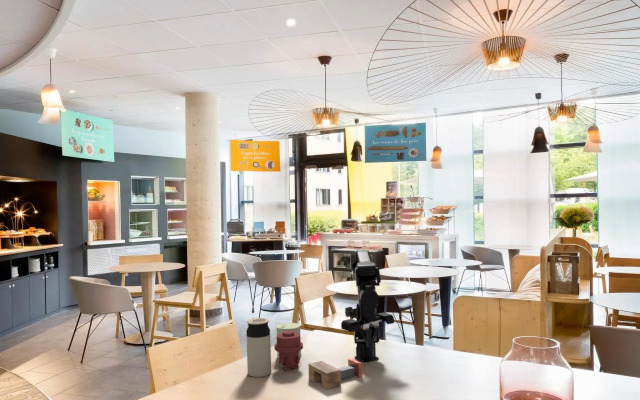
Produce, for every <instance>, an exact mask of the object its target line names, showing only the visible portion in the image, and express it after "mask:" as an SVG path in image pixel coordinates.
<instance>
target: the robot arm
mask: <svg viewBox="0 0 640 400" xmlns="http://www.w3.org/2000/svg"><path fill="white" fill-rule="evenodd" d="M349 259H350V261H349V262H350V263H349V264H350V265H349V266H350V267H349V268H350V271H351V270H352V276H353V278H354V279H355V286H356V289H357V300H358V303H356V307H355V308H353V307H352V306H349V307H348V306H347V307H345V309H344V314H345V317H346V318H348V319H343V320H342V321H341V323H340V324H341V325H340V329H342V330H344V331H347V332H350V333H353V340H354V344H356V347H355V356H354V359H355V360H357V361H359V362H360V361H361V362H363V363H367V362H372V361H375V360H379V358H380V357H379V356H377V355H376V354H377V353H376V352H377V351H376V349H377V348H376V344H378V343H379V342H380V331H381V330H380V329H382V326H380V324H379V323H382V322H385V324H387V325H392V324H395V317H394V315H393V314H390V313H388V312H380V313H377V309H379V300H380V296H379V293H378V292H377V290H376V288H377V287H379V286H380V284H381V281H382V278H381V272H380V269H379V268H378V266H377V265H376V263H375V262H373V256H372V254H370V251H369V250H368V249H356V250H355V251H354V253H353V254H352V255H351V256H350V258H349Z"/></svg>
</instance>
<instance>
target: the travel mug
mask: <svg viewBox="0 0 640 400" xmlns="http://www.w3.org/2000/svg"><path fill="white" fill-rule="evenodd" d="M269 322H270V319H269V318H265V317H256V318H255V317H254V318H250V319H248V320H247V321H246V323H247V328H246V335H245V336H246V360H247V362H246V364H247V366H246V368H247V375H248V376H250V377H254V378H261V377H262V378H263V377H266V376H268V375H270V374H272V356H271V355H272V354H271V353H272V351H271V350H272V349H271V328H270V326H269Z"/></svg>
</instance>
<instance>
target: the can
mask: <svg viewBox="0 0 640 400" xmlns="http://www.w3.org/2000/svg"><path fill="white" fill-rule="evenodd" d="M275 327H276V328H275V329H276V330H275V331H276V336H277V335H278V334H281V333H283V332H285V331H293V332H295V333H298V334H300V335H301V324H300V323H296V322H284V323H279V324H277V325H276V326H275ZM300 341H301V337H300ZM301 342H302V341H301ZM301 357H302V350H300V351H299V359H300V358H301ZM276 358H277V359H278V360H279V352H277V351H276Z"/></svg>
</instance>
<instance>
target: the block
mask: <svg viewBox="0 0 640 400" xmlns="http://www.w3.org/2000/svg"><path fill="white" fill-rule="evenodd" d="M307 367H308V380H310V381H311V382H313V383H316V382H319V381H321V387H322V388H324V389H325V390H331V389H335V388H338V387H342V383H341V381H342V380H341V376H340V369H337V368H338V367H335V366H333V365H330V364H328V363H326V362H325V361H324V360H323V361H322V360H319V361H314V362H310V363H308V366H307Z"/></svg>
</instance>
